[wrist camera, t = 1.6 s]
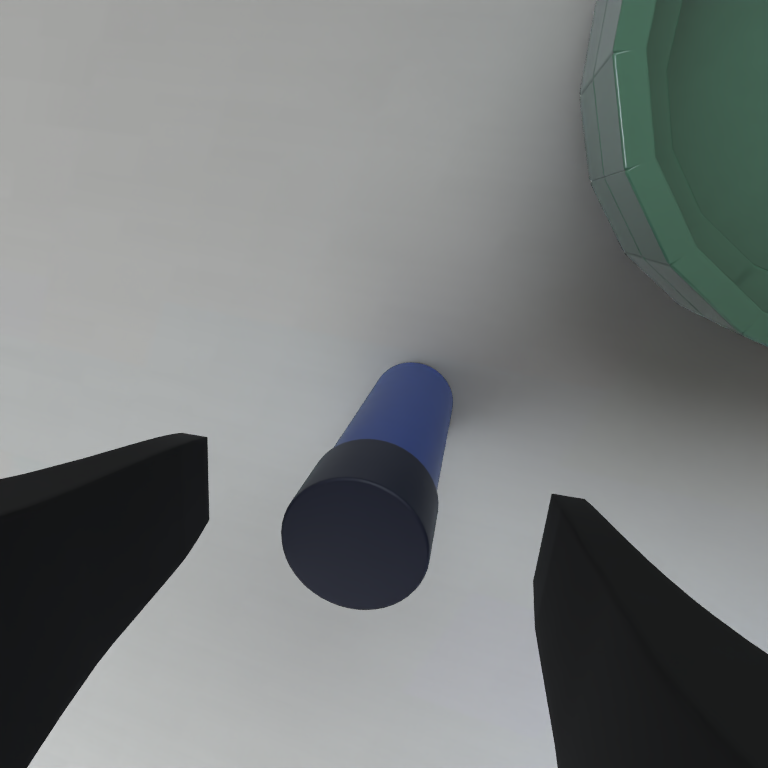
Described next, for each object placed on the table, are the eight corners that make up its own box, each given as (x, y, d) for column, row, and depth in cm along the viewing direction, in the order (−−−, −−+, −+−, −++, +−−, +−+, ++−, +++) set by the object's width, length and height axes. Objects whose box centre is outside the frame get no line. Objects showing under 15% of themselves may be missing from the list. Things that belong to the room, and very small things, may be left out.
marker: (450, 445, 18) (420, 624, 10) (367, 433, 18) (278, 595, 10) (461, 364, 17) (438, 492, 9) (374, 353, 17) (282, 466, 9)
